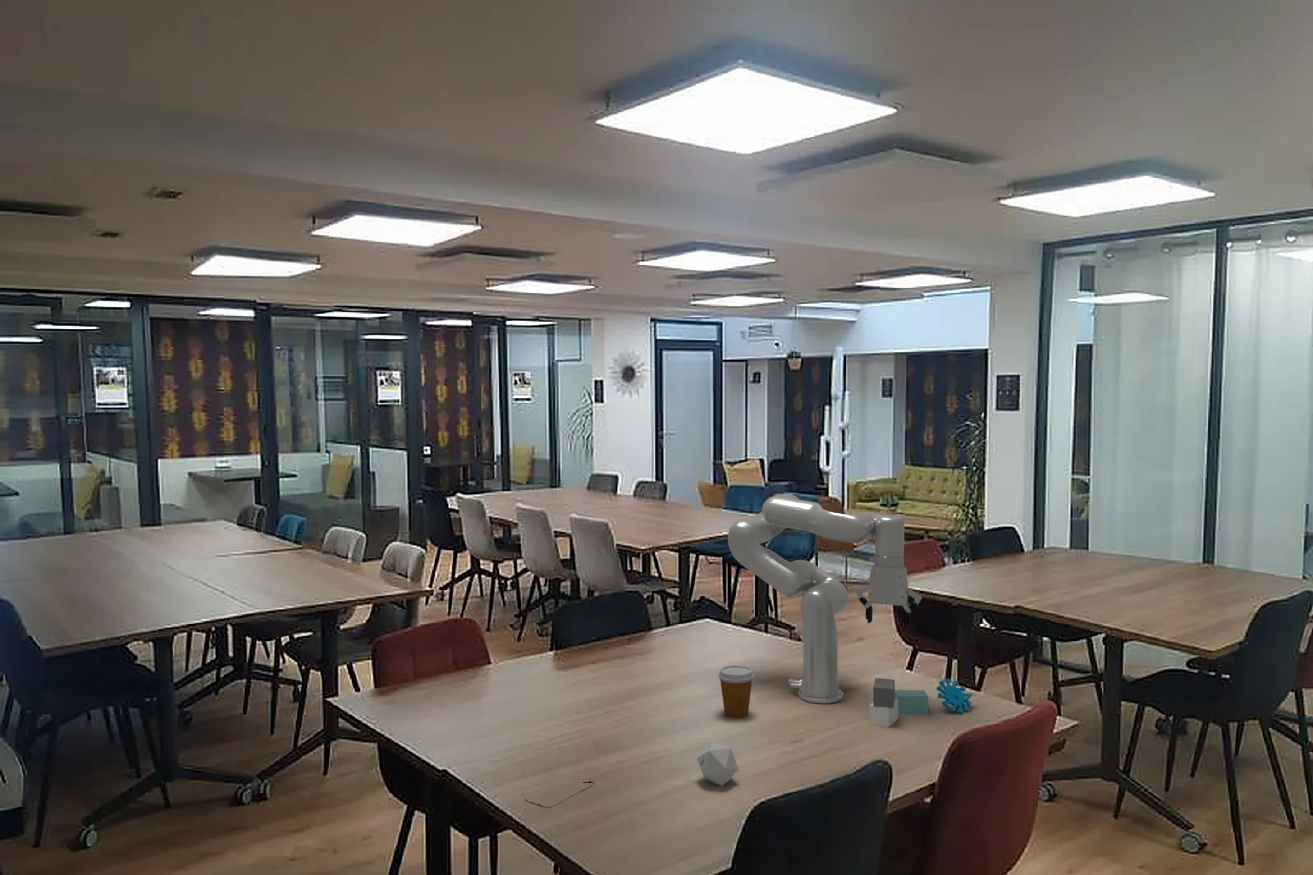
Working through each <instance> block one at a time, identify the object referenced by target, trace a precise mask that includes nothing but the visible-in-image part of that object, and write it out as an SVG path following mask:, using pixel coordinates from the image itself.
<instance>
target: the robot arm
mask: <svg viewBox="0 0 1313 875" xmlns="http://www.w3.org/2000/svg"><path fill="white" fill-rule="evenodd" d="M786 529H793V530H799V531H803V532H808V533H812V534H813V535H815V536H816V535H817V536H819V537H822V538H824V539H828V540H831V541H832V540H833V541H837V542H843V543H847V544H849V543H850V544H859V543H862V542H864V541H867V540H871V539H875V540H874V542H875V543H874V544H875V545H874V554H873V555H869V561H872V562H873V564H872V565H871V567H870V573H869V578H868V585H866V586H863V587H862V588H859V589H857V590H856V592H855V593H856V596H857V598H858V600H859V602H860V603H861V604H862V605H863V606H864V608H865V620H867V624H871V623H872V621H873V613H874V612H873V610H874V609H873V607H872V605H873V604H876V605H877V604H879V605H889V606H897V607H898V606H899V607H900V606H901V607H902V608H903V609H904V610H905V611H904V613H903V627H904V628H908V626H909V625H910V624H911V622H912V620H911V618H912V611H913V610H915V609H916V608H917V607H918V605H919V603H921V600H922V599H923V598H922V595H920V594H918V593H917V592H915V591H914V590H912V589H910V588H909V582H908V581H909V579H908V572H907V566H904V564H905V562H904V561H905V557H904V555H905V553H904V552H905V519H904V518H903V517H902V516H900V515H894V514H893V515H892V514H884V515H883V514H880V513H876V512H871V511H861V512H857V513H855V514H843V513H839V512H833V511H830V510H826V509H824V508H823V507H822V505H821V504H820V503H818V502H815V501H809V500H802V499H799V497H797V496H796V495H794V494H791V493H783V494H778V495H774V496H771V497H768V498H767V499H766V500H765V501H764V503H763V505H762V508H761V512H759V513H757V514H756V515H752V516H748V517H744V518H741V519H739V520H737V521H735V522H734V523H733V524H732V525H731V526H730V528H729V530H728V534H727V544H728V547H729V551H730V552H731V555H732V556H733V558H734V559H735V560H736V561H737V562H738V563H739V564H741V566H743V567H744V568H745V569H747V570H748V571H750V572H751V573H753V574H754V575H755V576H757V577H758V578H759V579H761V580H762V581H763V582H765V583H766V584H768V585H769V586H770V587H772V588H773V589H775V591H777V592H779V594H781V595H783V596H785V597H787V598H793V597H797V596H799V595H801V594H802V597H801V599H800V606H799V608H800V616H801V622H802V638H803V640H802V643H803V644H802V646H803V649H802V650H803V652H802V653H803V678H799V679H796V678H788V686H790V688H792V689H793V688H794V689H798V691H797V692H798V693H797V694H798V696H797V697H799V698H800V699H801V700H803V701H806V702H809V703H813V704H814V703H815V704H833V703H837V702H840V701H842V700H843V699H844V692H843V691H842V690H841V689H839V685H838V684H839V682H838V679H839V677H838V674H839V673H838V672H839V671H838V670H839V668H838V665H839V664H838V661H839V660H838V659H839V658H838V654H839V653H838V651H839V650H838V628H837V623H836V619H835V616H836V615H837V614H839V613H840V612H842V611H843V610H845V608H846V607H847V605H848V603H849V592H848V590H847V588H846V587H845V586H844V584H843V583H841V581H839V580H838V579H836V578H835V577H834V576H832V575H831V574H829V573H827V571H825V570H824V569H822V568H821V567H819V566H817V565H816V564H815V563H813V562H811V561H809V560H805V559H797V560H793V561H789V560H786V559H784V558H783V557H782V556H780V555H779V554H777V553H776V552H775V551H773V550H771V549H769V548H767V547H764V546H763V545H761V544H764V543H766V542H768V541H770V540H771V539H773V538H775V537H776V536H777V535H780V534H781V533H782V532H783V531H784V530H786ZM866 592H867V594H868V595H867V598H866V597H864V594H865V593H866ZM909 597H912V598H913V599H914V601H913V603H911V604H910V603H909V602H908V600H909Z"/></svg>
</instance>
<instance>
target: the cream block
mask: <svg viewBox="0 0 1313 875" xmlns="http://www.w3.org/2000/svg"><path fill="white" fill-rule="evenodd" d="M868 707H869V714H868V715H869V725H873V726H878V727H884V728H889V727H890V726H892V725H893V724H894V723H895V722H896V721H897V720H898V719H899V714H898V699H895V700H894V707H893V708H885V707H874V706H873V702H871V703H870V704H869V706H868Z"/></svg>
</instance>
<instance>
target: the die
mask: <svg viewBox="0 0 1313 875" xmlns="http://www.w3.org/2000/svg"><path fill="white" fill-rule="evenodd" d="M696 761H697V763H698V765H699V768H700V770H701V774H702V776H703V778H704V780H705V781H707V782H710V783H712V784H715V785H717V786H721V787H723V786H724V785H726V783H727V782H729V780H730V779H732V778H733V776H734V775H736V773H738V771H739V770H740V769H739V766H738V764H737V762H736V759H735V756H734V753H733V751H732V747H730V746H727V745H722V744H719V743H716V742H711V743H710V744H709V746H707V748H705V749H704V751H702V753H700V754H699V755H698V757H696Z"/></svg>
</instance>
